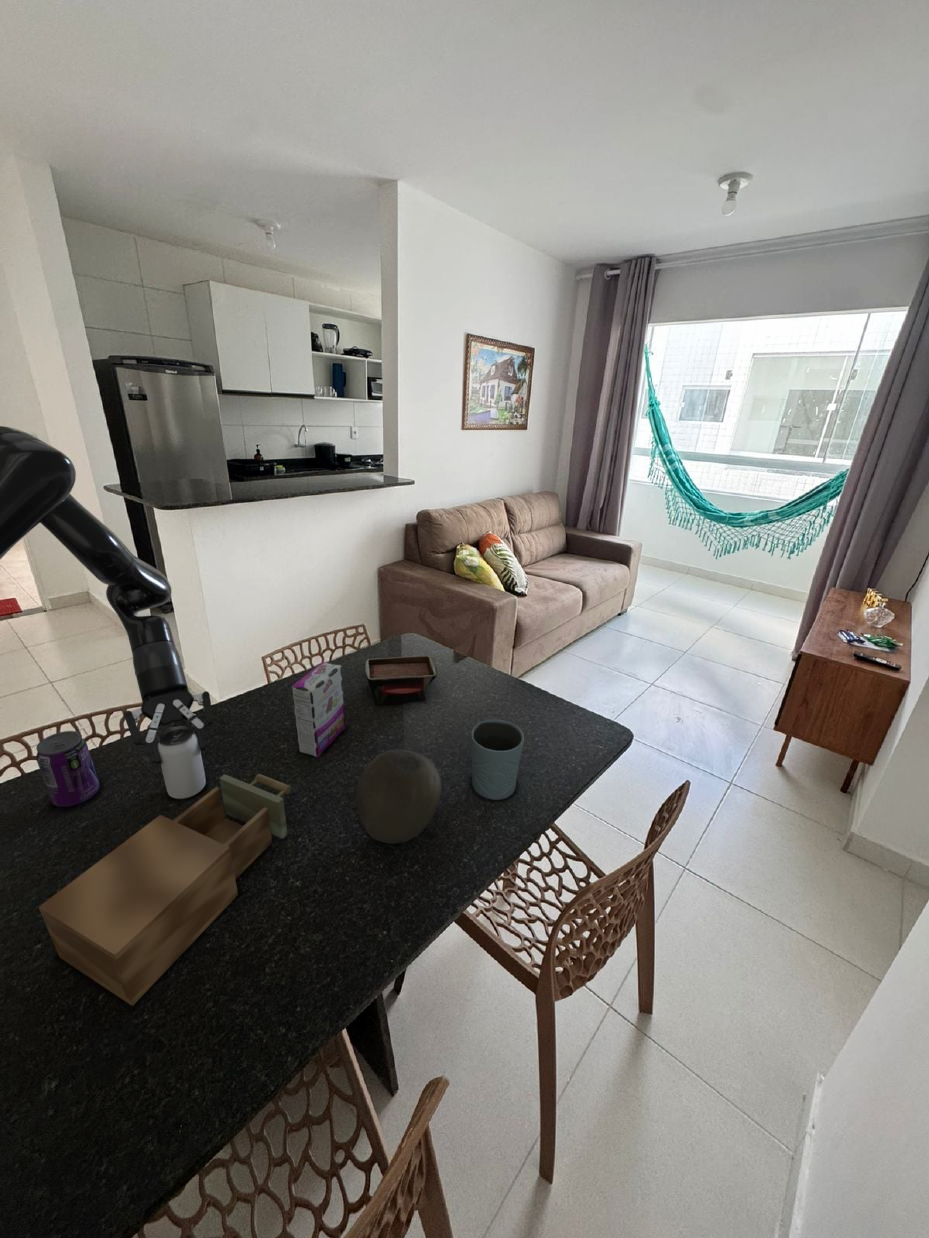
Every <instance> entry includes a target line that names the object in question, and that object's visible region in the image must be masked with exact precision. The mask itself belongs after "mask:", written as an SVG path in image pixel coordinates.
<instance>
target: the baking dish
mask: <svg viewBox="0 0 929 1238" xmlns="http://www.w3.org/2000/svg"><path fill="white" fill-rule="evenodd" d="M363 666H364V676H365V678H366V681H367V683H368V686H369V688H370V690H371V693H372V695H373V698H374V701H375V703H376V705H377V706H391V705H400V704H409V703H417V702H418V703H419V702H424V701H426V700H427V698H426V694H427V692H428V688H429V686H430V685H431V683H432V682H433V681H434V680H435V679H436V678H437V677H438V670H437V664H436V663H435V661H434V659H433V658H432V657H431V656H430V655H428V654H427V655H412V656H411V655H410V656H394V657H380V658H379V657H376V658H368V659H366V661H365V662H364V665H363Z"/></svg>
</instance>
